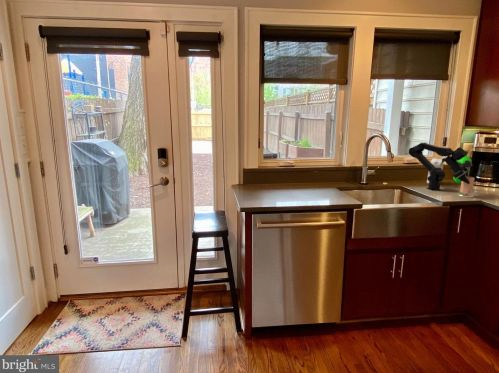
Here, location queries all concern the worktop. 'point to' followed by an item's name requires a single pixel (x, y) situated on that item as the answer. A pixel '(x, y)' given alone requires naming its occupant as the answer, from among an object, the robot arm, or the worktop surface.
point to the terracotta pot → (467, 186)
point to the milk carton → (436, 165)
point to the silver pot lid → (465, 195)
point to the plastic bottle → (461, 163)
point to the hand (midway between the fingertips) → (470, 182)
